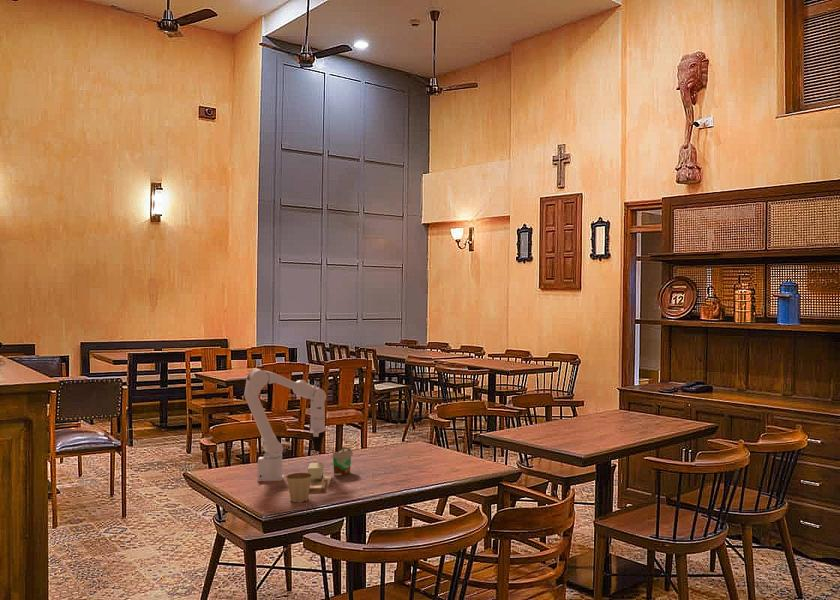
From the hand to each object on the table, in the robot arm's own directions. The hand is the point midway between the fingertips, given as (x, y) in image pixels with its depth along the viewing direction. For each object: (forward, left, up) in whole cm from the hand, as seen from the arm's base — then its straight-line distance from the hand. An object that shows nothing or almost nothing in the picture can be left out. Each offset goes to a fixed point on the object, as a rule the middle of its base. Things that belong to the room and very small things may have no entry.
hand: (317, 451), depth 284 cm
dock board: (0, -17, -9) cm, 19 cm away
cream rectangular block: (0, -10, -9) cm, 13 cm away
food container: (+11, -2, -10) cm, 15 cm away
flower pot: (-3, -37, -10) cm, 38 cm away
